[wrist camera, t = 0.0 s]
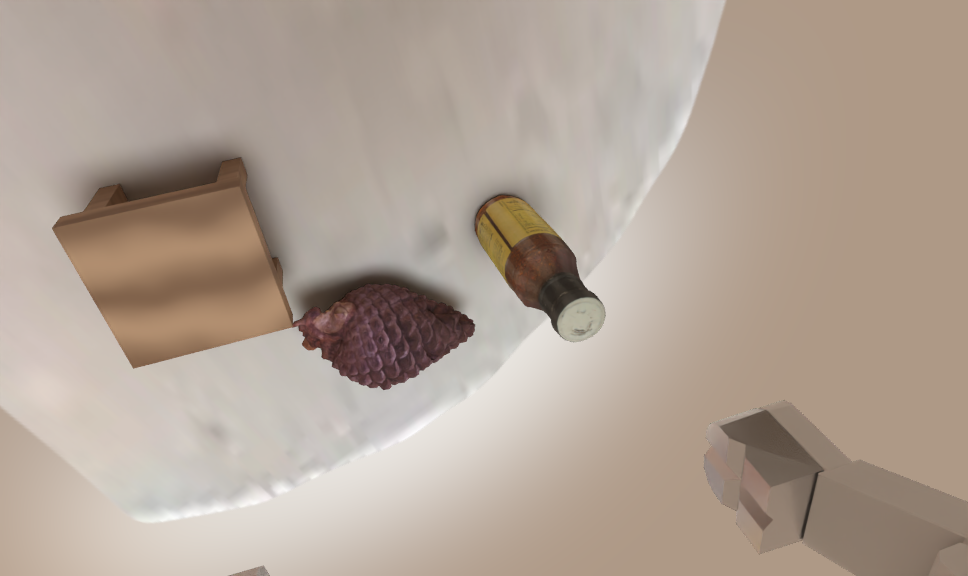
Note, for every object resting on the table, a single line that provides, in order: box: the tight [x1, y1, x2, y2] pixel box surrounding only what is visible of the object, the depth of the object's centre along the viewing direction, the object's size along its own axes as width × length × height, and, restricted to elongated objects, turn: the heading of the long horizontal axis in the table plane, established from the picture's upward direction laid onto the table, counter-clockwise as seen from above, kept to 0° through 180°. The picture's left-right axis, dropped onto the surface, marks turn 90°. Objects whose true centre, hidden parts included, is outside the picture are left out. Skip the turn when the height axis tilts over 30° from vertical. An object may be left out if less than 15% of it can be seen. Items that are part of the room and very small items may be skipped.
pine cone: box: [292, 284, 475, 390], centre depth 60 cm, size 18×10×10 cm, turn 82°
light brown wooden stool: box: [52, 158, 293, 369], centre depth 52 cm, size 13×13×9 cm
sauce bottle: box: [475, 195, 605, 342], centre depth 55 cm, size 7×6×20 cm
